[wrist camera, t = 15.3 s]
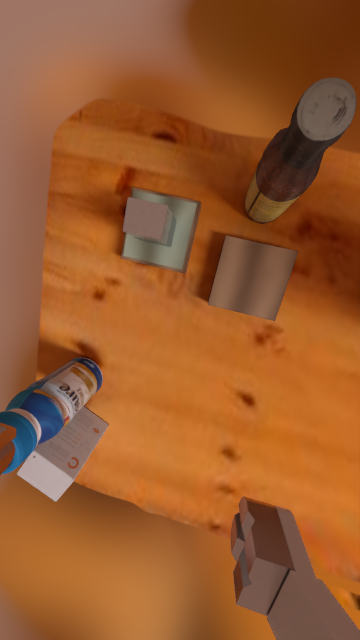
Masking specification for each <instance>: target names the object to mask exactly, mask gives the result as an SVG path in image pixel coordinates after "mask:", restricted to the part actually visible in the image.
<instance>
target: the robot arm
mask: <svg viewBox="0 0 360 640" xmlns="http://www.w3.org/2000/svg"><path fill="white" fill-rule="evenodd" d="M15 437H16V428H14V427H12V426H9V425H6V424H3V423H0V475H1V474H2V473H3V472H4V471H5V470H6V469H7V467H8V466H9V464H10V463H11V461H12V460H13V457H14V454H15V445H14V443H13V441H12V440H13V439H14V438H15ZM239 511H240V512H239V513H237V514H236V515H235V516H234V519H233V522H232V528H231V552H232V554H233V556H234V558H235V560H236V562H237V563H236V566H235V569H234V571H233V575H234V585H235V597H236V604H237V605H240V606H242V607H245V608H248V609H250V610H252V611H255V612H258V613H260V614H263V615H266V616H268V617H267V620H268V622H269V624H270V626H271V629H272V631H273V633H274V635H275V637H276V639H277V640H360V630H359V629H358V627H357V626H356V625H355V623H354V622H353V621H352V620H351V618H350V617H349V616H348V614H347V613H346V612H345V610H344V609H343V608H342V606H341V605H340V604H339V602H338V601H337V600H336V598H335V597H334V596H333V594H332V593H331V592H330V590H329V589H328V588H327V586H326V585H325V584H324V582H323V581H322V580H320V579H317V578H316V576H315V574H314V571H313V568H312V565H311V563H310V560H309V557H308V554H307V552H306V549H305V546H304V543H303V541H302V538H301V535H300V532H299V530H298V527H297V524H296V521H295V519H294V516H293V514H292V512H291V511H290V510H287V509H284V508H281V507H277V506H273V505H271V504H268V503H264V502H261V501H257V500H254V499H251V498H247V497H244V496H243V497H242V498H241V500H240V503H239Z"/></svg>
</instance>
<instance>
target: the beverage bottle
mask: <svg viewBox="0 0 360 640" xmlns="http://www.w3.org/2000/svg"><path fill="white" fill-rule="evenodd" d="M102 382H103V375H102V372H101V369H100V368H99V366H98V365H97V364H96V363H95V362H94V361H92V360H90V359H88V358H82V357H80V358H75V359H73V360H71V361H69V362H68V363H67V364H65V365H64V366H62V367H60V368H59V369H57V370H56V371H54V372H52V373H51V374H49V375H47V376H46V377H44V378H43V379H41V380H38V381H36V382H34V383H33V384H31V385H30V386H29V387H28V388H27V389H26V390H24V391H22V392H20V393H19V394H17V395H16V396H15V397H14V398H13V399H12V400H11V402H10V403H9V405H8V406H7V408H6V410H5V411H3V412H0V423H3V424H6V425H9V426H12V427H14V428H16V437H15V438H14V439H13V440H12V441H13V443H14V445H15V454H14V457H13V460H12V461H11V463H10V464H9V466H8V467H7V469H6V470H5V471H4V472H3V473H2V474H6V473H9V472H11V471H13V470H14V469H16V468H17V467H18V466H19V465H20V464H21V463H22V462H23V461H24V460H25V459H26V458H27V457H28V456H29V455H30V454H31V453H32V452H33V451H34V449H35V448H36V446H37V445H38V444H41V443H44V442H46V441H48V440H50V439H51V438H53V437H54V436H56V435H57V434H58V433H59V432H60V430H61V428H63V427H64V426H66V425H67V424H68V423H69V422H70V421H71V420H72V419H73V417H74V415H75V414H76V413H77V412H78V411H79V410H80V409H81V408H82V407H83V406H84V404H85V403H86V402H87V401H88V400H89V399H90V398H91V397H92V396H93V395H94V394H95V393H96V392H97V391H98V390H99V389H100V387H101V385H102Z"/></svg>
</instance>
